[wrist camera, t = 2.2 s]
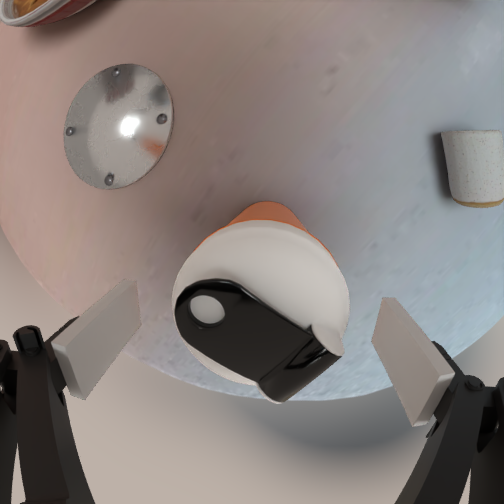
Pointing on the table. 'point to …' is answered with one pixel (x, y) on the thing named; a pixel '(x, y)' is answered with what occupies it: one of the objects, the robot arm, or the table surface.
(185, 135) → the table surface
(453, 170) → the ceramic mug
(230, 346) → the shaker bottle
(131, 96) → the flange
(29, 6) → the bowl
